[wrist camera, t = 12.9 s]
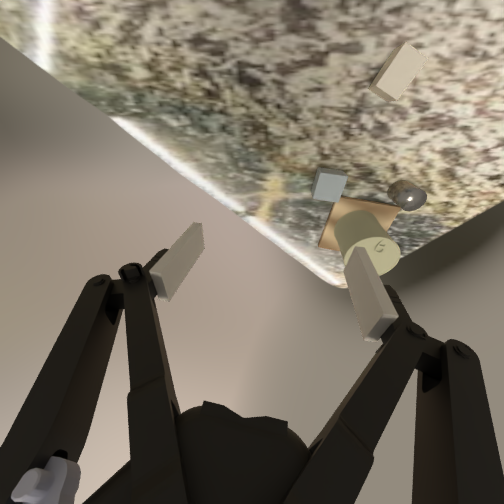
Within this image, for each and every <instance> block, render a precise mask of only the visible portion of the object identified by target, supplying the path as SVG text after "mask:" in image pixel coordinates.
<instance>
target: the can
mask: <svg viewBox="0 0 504 504" xmlns="http://www.w3.org/2000/svg"><path fill="white" fill-rule="evenodd" d="M334 236H335V238H336V240H337V242H338V245H339V248H340V251H341V254H342V257H343V260H344V265H345V267H346V264H347V262H348V260H349V258H350V256H351V254H352V251H353V249H354V247H355V246H358V247H365V249H366V251H367V253H368V255H369V257H370V259H371V261H372V263H373V265H374V267H375V269H376V271H377V273H378V275H382V274H384V273H386V272H388V271H390V270H391V269H392V268H393V267H394V266H395V265H396V264H397V263H398V261H399V258H400V248H399V246H398V245H397V244H396V243H395V242H394V241H393V240H392V238H391V237H390V236H389V235H388V234H387V232H386V231H385V230H384V229H383V227H382V226H381V225H380V223H379V222H378V220H377V218H376V217H375V216H374V215H373V214H372V213H370V212H367V211H362V210H358V211H352V212H349V213H347V214H345V215H344V216H342V217H341V218H340V219H339V220H338V221H337V223H336V225H335V228H334Z"/></svg>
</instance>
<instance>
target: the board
mask: <svg viewBox="0 0 504 504" xmlns="http://www.w3.org/2000/svg"><path fill="white" fill-rule="evenodd" d="M400 208H401V207H400V206H398V205H392V204H386V203H380V202H374V201H368V200H362V199H356V198H350V197H344V196H341V197H340V200H339V202H338V203H337V202H334V203H333V206H332V209H331V211H330V214H329V217H328V219H327V222H326V225H325V227H324V230H323V233H322V235H321V238H320V241H319V243H318V247H321V248H326V249H331V250H336V251H340V248H339V245H338V242H337V240H336V238H335V236H334V228H335V225H336V223H337V221H338V220H339V219H340V218H341V217H342V216H344V215H345V214H347V213H349V212H352V211H358V210H362V211H367V212H370V213H372V214H373V215H374V216H375V217H376V218H377V220H378V222H379V223H380V225H381V226H382V227H383V229H384V230H385V231H386V232H387V230H388V229H389V227H390V225H391V224H392V222H393V220H394V219H395V217H396V215H397V213H398V212H399V210H400Z"/></svg>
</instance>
